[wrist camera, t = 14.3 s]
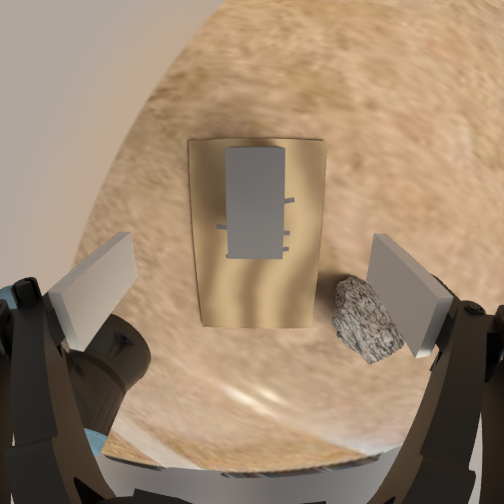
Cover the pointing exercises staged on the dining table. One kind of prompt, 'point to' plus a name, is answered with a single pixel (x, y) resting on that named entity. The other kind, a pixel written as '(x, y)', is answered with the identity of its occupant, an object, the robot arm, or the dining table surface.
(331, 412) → the dining table surface
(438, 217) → the dining table surface
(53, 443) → the robot arm
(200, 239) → the board
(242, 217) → the block
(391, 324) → the rock
